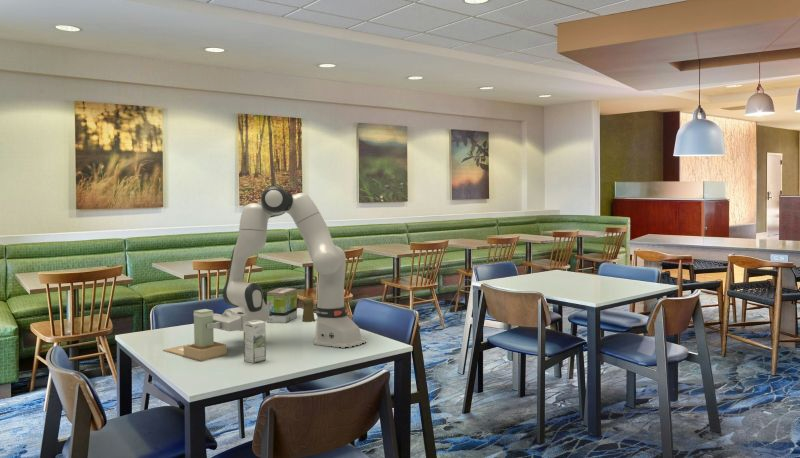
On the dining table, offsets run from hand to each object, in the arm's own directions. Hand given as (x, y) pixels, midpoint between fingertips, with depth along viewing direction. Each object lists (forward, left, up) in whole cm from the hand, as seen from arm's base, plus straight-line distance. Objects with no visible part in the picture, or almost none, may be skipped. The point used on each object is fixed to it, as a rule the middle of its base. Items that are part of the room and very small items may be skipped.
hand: (201, 325), depth 232 cm
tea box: (+29, -63, -12) cm, 70 cm away
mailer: (+7, -1, -12) cm, 14 cm away
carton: (0, -1, -8) cm, 8 cm away
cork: (+17, -69, -12) cm, 72 cm away
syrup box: (-21, -8, -12) cm, 26 cm away
